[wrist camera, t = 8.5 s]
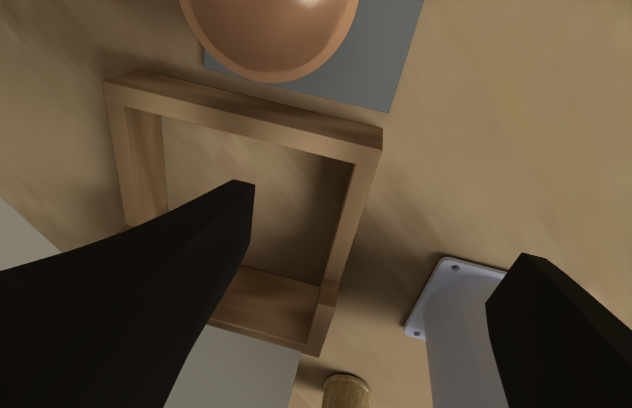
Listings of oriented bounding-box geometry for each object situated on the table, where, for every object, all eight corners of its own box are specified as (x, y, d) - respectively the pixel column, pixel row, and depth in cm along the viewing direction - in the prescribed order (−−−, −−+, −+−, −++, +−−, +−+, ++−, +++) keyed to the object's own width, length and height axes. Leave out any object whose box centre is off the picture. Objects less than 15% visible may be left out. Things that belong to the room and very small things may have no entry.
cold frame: (383, 128, 18) (379, 262, 9) (325, 312, 26) (293, 475, 17) (140, 69, 19) (-94, 137, 10) (161, 267, 27) (49, 401, 18)
